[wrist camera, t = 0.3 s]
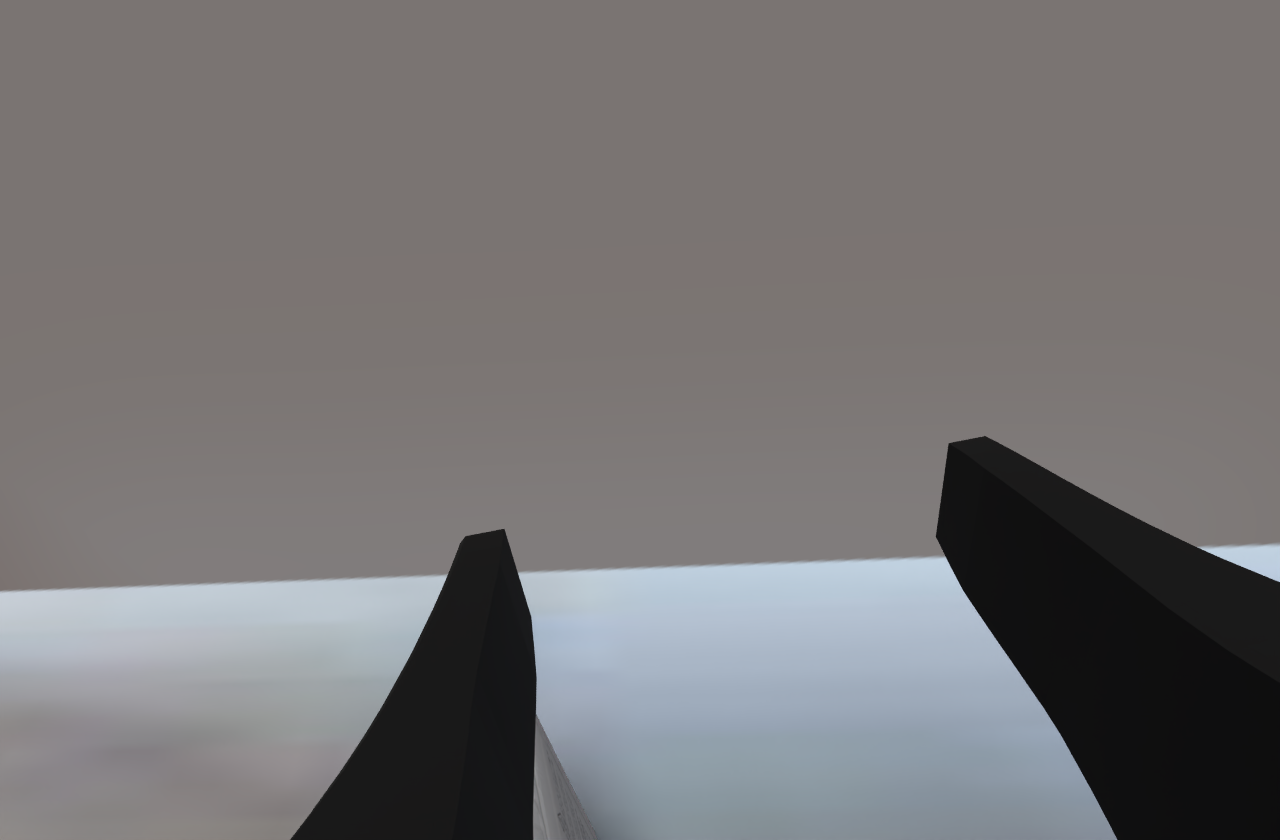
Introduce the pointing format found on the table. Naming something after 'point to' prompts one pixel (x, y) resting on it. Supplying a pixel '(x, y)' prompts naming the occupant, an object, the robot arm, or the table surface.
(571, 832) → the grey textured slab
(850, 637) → the table surface
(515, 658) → the robot arm
